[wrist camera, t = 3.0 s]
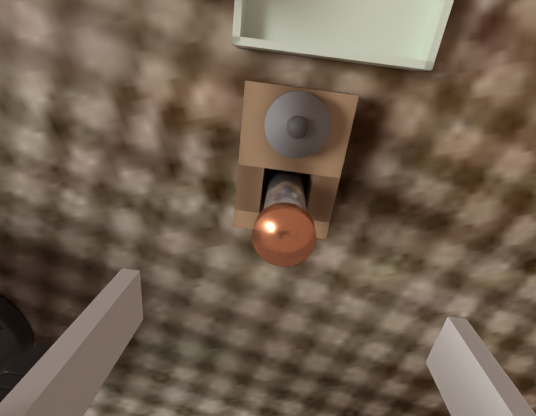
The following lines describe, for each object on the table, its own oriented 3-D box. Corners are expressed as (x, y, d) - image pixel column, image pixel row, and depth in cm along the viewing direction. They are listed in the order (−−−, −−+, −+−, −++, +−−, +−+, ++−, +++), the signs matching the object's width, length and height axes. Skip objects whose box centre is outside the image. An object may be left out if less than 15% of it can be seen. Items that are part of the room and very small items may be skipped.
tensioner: (239, 209, 32) (228, 239, 26) (251, 80, 27) (240, 80, 20) (321, 221, 32) (329, 253, 26) (349, 93, 26) (367, 97, 20)
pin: (263, 196, 31) (249, 261, 20) (268, 158, 29) (255, 205, 18) (302, 201, 31) (310, 270, 20) (309, 163, 29) (322, 214, 18)
